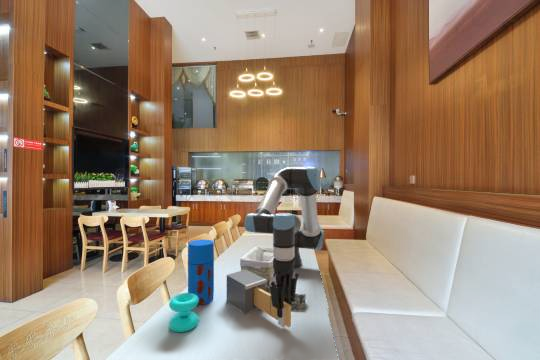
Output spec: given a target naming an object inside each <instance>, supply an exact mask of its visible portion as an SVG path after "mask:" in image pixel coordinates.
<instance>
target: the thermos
mask: <svg viewBox="0 0 540 360" xmlns="http://www.w3.org/2000/svg"><path fill="white" fill-rule="evenodd" d="M214 251H215V244H214V241H213V240H212V239H195V240H191V241H189V242H188V243H187V293H193V294H195V295H197V296H198V299H199V302H198V304H197V306H198V307H200V306H206V305H208V304H210V303H211V302H213V300H214V295H215V294H214V293H215V260H214V259H215V254H214V253H215V252H214ZM197 306H196V307H197Z"/></svg>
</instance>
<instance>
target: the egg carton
mask: <svg viewBox="0 0 540 360" xmlns="http://www.w3.org/2000/svg"><path fill="white" fill-rule="evenodd" d="M291 297H292V296H291ZM306 299H307V295H306V293H305V294H304V293H303V294H298V293H296V292H295V300H294V302H291V303H292V304H293V305H292V306H291V309H294V308H297V309H298V310H302V309H305V305H306Z"/></svg>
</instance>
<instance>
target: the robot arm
mask: <svg viewBox="0 0 540 360" xmlns="http://www.w3.org/2000/svg"><path fill="white" fill-rule="evenodd" d="M321 181H322V179H321V173H320V170H319V168H317V167H315V166H289V167H284V168H282V169H280V170H278V171H277V172H276V173H274V174H273V175H272V177H271V178H270V180H269V182H268V188H267V190H266V192H265V193H264V195H263V197H262V199H261V201H260V202H259V204H258V206H257V208H256V209H255V211H254V213H253V212H251V213H247V214H246V216H245V217H244V221H243V222H244V225H243V226H244V230H245V231H246V232H248V233H255V234H271V235H272V246H273V247H272V248H273V253H272V256H273V257H274V258H273V269H274V275H273V277H274V278H273V279H272V280H271V281H270V280H268V285H269V286H270V291H269V294H271V300H272V306H273V307H275V308H277V316H278V320H277V324H278V325H279V326H281V327H282V328H285V327H286V325H285V308H284V307H283V303H284V302H286V303H288V304H290V305H291V306H292V305H293V304H292V303H294V300H295V294H296V291H297V281H298V278H299V273H298V272H295V271H294V269H295V268H299V267H302V265H303V264H302V263H303V260H302V257H301V254H300V249H306V250H321V249H322V248H323V243H324V236H325V235H324V233H325V231H324V229H322V228H321V225H320V224H319V220H318V219H319V217H318V208H317V207H318V206H317V196H316V195H317V193H318V192H319V190H320V189H321V188H322V187H321V186H322V182H321ZM287 190H295V191H296V194H297V195H298V196H299V199H300V200H299V201H300V207H301V208H300V209H301V217H302V219H301V218H300V217H299V216H298V215H297V214H293V213H289V212H278V213H275V211H276V209H277V207H278V205H279V203H280V200H281V198H282V196H283V194H284V193H285V192H286V191H287ZM291 296H292V297H291ZM291 302H292V303H291Z"/></svg>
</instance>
